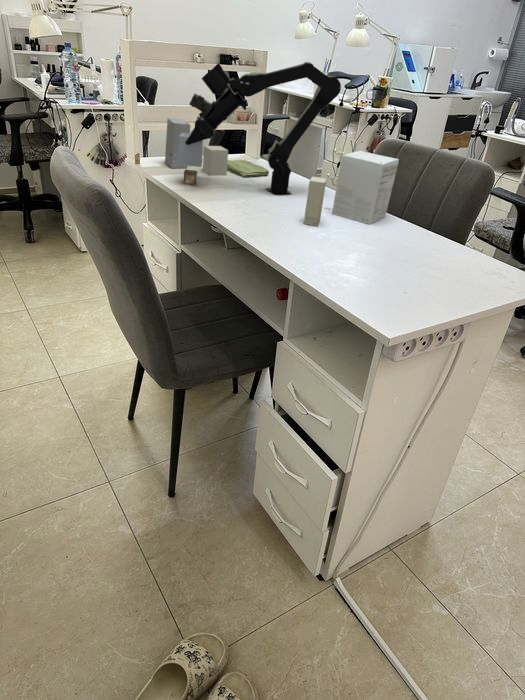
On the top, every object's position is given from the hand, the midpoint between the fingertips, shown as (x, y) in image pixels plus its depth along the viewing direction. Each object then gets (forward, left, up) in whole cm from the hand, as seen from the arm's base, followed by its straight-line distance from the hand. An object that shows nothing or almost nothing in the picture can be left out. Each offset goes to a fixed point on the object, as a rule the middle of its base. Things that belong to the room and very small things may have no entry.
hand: (187, 141), depth 158 cm
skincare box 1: (+23, -4, -13) cm, 27 cm away
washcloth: (+15, -28, -14) cm, 35 cm away
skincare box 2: (-43, -23, -13) cm, 51 cm away
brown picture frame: (-1, -1, -13) cm, 13 cm away
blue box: (-1, -1, -7) cm, 7 cm away
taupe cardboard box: (+13, -15, -13) cm, 24 cm away
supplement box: (-39, -43, -13) cm, 60 cm away
